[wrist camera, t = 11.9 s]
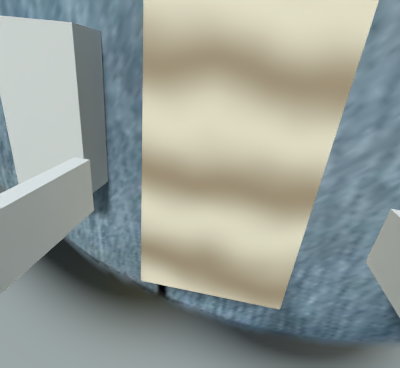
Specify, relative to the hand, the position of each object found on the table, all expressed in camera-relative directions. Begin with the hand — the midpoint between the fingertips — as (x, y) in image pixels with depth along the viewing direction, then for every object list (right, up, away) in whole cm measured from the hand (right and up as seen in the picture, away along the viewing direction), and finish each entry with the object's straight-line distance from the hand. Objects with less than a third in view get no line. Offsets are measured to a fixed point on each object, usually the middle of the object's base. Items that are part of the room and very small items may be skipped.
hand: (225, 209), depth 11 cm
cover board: (+1, +3, +7) cm, 7 cm away
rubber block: (-14, +8, +13) cm, 21 cm away
